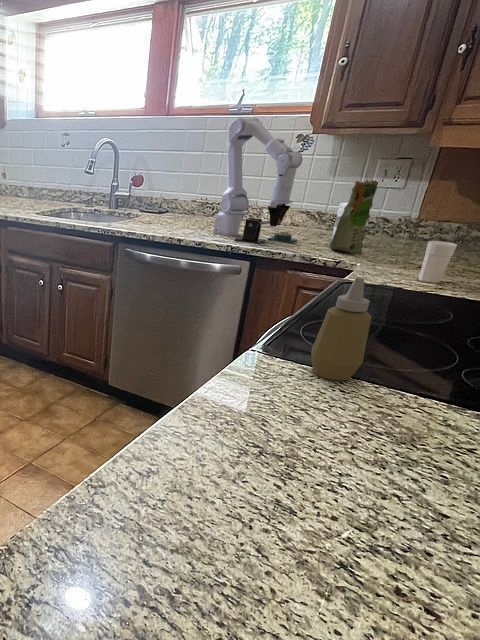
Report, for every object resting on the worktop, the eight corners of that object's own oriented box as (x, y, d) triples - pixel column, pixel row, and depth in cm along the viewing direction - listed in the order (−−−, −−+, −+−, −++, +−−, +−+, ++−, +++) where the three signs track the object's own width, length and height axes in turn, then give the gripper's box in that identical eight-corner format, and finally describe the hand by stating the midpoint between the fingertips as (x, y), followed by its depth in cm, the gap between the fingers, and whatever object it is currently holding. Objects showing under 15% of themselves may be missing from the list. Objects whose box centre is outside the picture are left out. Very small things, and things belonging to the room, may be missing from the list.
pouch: (357, 249, 194) (378, 178, 184) (368, 256, 184) (391, 181, 174) (323, 246, 197) (342, 177, 187) (333, 253, 187) (353, 180, 176)
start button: (277, 235, 203) (278, 230, 203) (280, 234, 205) (281, 229, 205) (285, 236, 201) (286, 231, 201) (288, 235, 203) (289, 230, 203)
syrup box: (352, 242, 205) (363, 204, 199) (337, 242, 205) (348, 204, 199) (344, 239, 210) (354, 202, 204) (329, 239, 210) (339, 202, 204)
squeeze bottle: (338, 365, 99) (367, 271, 91) (367, 384, 91) (401, 284, 84) (296, 365, 99) (322, 271, 91) (322, 384, 91) (352, 284, 84)
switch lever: (281, 224, 195) (281, 215, 194) (279, 225, 193) (278, 216, 192) (251, 228, 203) (250, 220, 202) (248, 229, 201) (247, 221, 200)
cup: (416, 276, 159) (428, 240, 155) (443, 280, 156) (457, 243, 151) (414, 280, 155) (427, 243, 150) (442, 284, 151) (456, 246, 146)
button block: (266, 241, 205) (268, 233, 204) (272, 239, 209) (273, 231, 208) (291, 245, 200) (293, 237, 198) (296, 242, 204) (298, 235, 202)
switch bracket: (265, 242, 203) (270, 219, 199) (257, 245, 198) (262, 222, 194) (241, 239, 209) (246, 216, 205) (233, 242, 203) (238, 219, 200)
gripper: (288, 190, 182) (279, 229, 188) (301, 187, 192) (292, 224, 197) (267, 188, 187) (259, 226, 192) (281, 185, 196) (273, 222, 202)
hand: (274, 225), depth 195 cm, fingers closed on switch lever, 3 cm apart
